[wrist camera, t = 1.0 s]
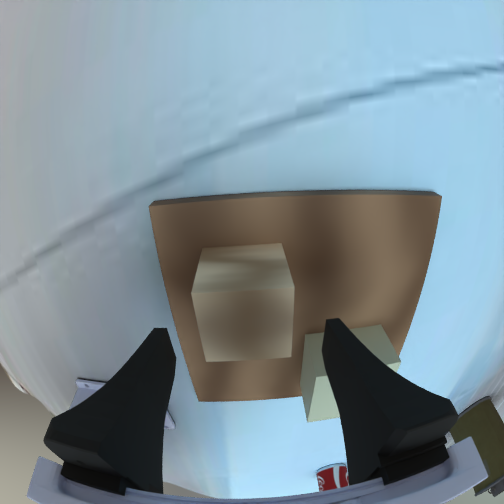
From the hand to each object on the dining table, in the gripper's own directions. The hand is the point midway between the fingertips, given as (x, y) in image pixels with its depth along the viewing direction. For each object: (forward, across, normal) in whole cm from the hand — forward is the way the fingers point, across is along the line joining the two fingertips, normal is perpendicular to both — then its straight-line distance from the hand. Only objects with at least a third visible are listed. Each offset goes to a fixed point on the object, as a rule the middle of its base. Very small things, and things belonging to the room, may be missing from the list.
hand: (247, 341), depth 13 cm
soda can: (+6, -12, +41) cm, 43 cm away
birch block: (+5, 0, 0) cm, 5 cm away
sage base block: (+5, -7, +8) cm, 12 cm away
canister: (+7, -40, +36) cm, 54 cm away
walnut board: (+6, -4, +4) cm, 9 cm away
